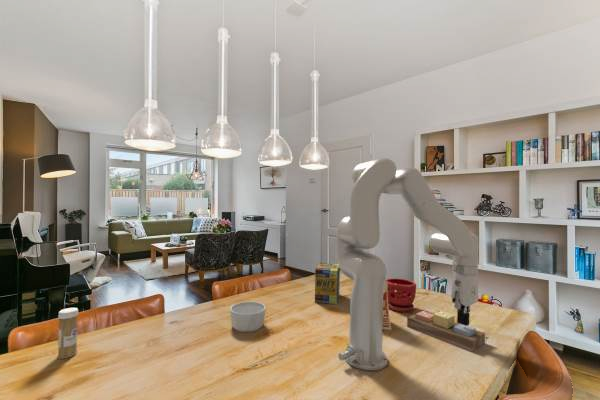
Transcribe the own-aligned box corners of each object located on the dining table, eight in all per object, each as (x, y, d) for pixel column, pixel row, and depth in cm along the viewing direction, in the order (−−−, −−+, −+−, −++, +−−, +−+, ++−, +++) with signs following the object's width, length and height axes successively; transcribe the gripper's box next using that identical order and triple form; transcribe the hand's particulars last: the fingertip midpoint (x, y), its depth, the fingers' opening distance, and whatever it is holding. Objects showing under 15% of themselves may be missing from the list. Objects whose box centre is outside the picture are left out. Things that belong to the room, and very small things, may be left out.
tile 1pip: (468, 342, 95) (469, 331, 95) (453, 337, 99) (453, 326, 99) (475, 338, 98) (475, 327, 98) (460, 333, 102) (460, 322, 102)
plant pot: (420, 314, 123) (421, 285, 123) (389, 313, 123) (389, 285, 123) (409, 303, 136) (410, 277, 136) (381, 302, 136) (381, 277, 136)
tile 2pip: (447, 328, 100) (447, 318, 101) (433, 323, 104) (433, 313, 104) (454, 325, 104) (454, 314, 104) (440, 320, 108) (440, 310, 108)
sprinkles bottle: (72, 358, 84) (73, 312, 84) (53, 360, 83) (54, 313, 83) (80, 350, 89) (81, 306, 89) (63, 351, 88) (64, 307, 88)
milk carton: (391, 330, 107) (392, 275, 107) (366, 327, 109) (366, 274, 109) (389, 320, 116) (390, 270, 116) (365, 317, 118) (366, 268, 118)
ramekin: (272, 326, 109) (273, 307, 109) (243, 337, 99) (244, 317, 99) (251, 316, 118) (251, 298, 118) (222, 325, 108) (223, 307, 108)
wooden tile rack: (471, 351, 92) (471, 341, 92) (407, 326, 110) (407, 317, 110) (484, 343, 98) (484, 333, 98) (421, 320, 116) (421, 311, 116)
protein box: (314, 302, 135) (314, 269, 135) (319, 292, 150) (319, 262, 150) (337, 304, 132) (337, 270, 132) (339, 294, 147) (340, 263, 147)
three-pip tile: (428, 327, 106) (428, 317, 106) (415, 322, 110) (415, 313, 110) (435, 324, 109) (435, 314, 109) (422, 319, 113) (422, 310, 113)
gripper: (466, 274, 91) (464, 333, 91) (486, 269, 100) (484, 323, 100) (442, 269, 97) (441, 324, 97) (463, 265, 106) (461, 315, 106)
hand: (463, 323), depth 98 cm, fingers closed
